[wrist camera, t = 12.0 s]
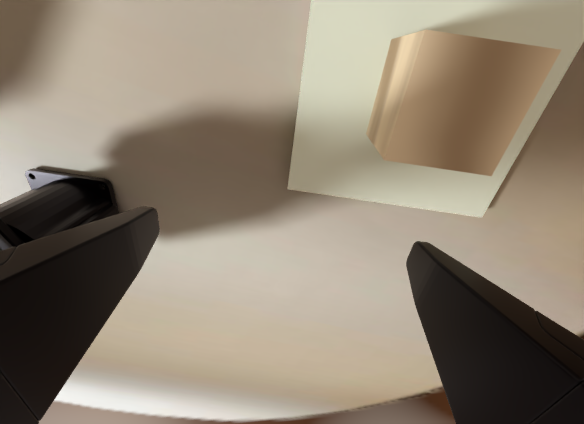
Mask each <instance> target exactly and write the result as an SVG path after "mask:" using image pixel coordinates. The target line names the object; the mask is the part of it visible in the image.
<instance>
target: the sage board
mask: <svg viewBox="0 0 584 424" xmlns="http://www.w3.org/2000/svg"><path fill="white" fill-rule="evenodd" d="M423 30H432V31H439V32H446V33H452V34H459V35H466V36H472V37H479V38H486V39H493V40H499V41H506V42H513V43H520V44H526V45H533V46H540V47H547V48H553V49H560V50H561V52H560V53H559V55H558V57H557V59H556V61H555V63H554V64H553V66H552V68H551V70H550V72H549V73H548V75H547V77H546V79H545V81H544V82H543V84H542V86H541V88H540V90H539V91H538V93H537V95H536V97H535V99H534V100H533V102H532V104H531V106H530V108H529V109H528V111H527V113H526V115H525V117H524V119H523V120H522V122H521V124H520V126H519V128H518V129H517V131H516V133H515V135H514V137H513V138H512V140H511V142H510V144H509V146H508V147H507V149H506V151H505V153H504V155H503V156H502V158H501V160H500V162H499V164H498V165H497V167H496V169H495V171H494V173H493V174H492V176H486V175H479V174H473V173H466V172H459V171H453V170H446V169H439V168H433V167H426V166H419V165H412V164H406V163H399V162H392V161H386V160H384V159H383V158H382V157H381V155H380V154H379V152H378V151H377V149H376V148H375V146H374V145H373V144H372V142H371V141H370V139H369V138H368V136H367V135H366V132H367V128H368V125H369V121H370V117H371V113H372V110H373V106H374V102H375V98H376V95H377V91H378V87H379V84H380V80H381V76H382V72H383V69H384V65H385V61H386V57H387V54H388V50H389V46H390V42H391V39H394V38H398V37H401V36H405V35H408V34H412V33H415V32H419V31H423ZM583 42H584V0H311V7H310V15H309V22H308V30H307V38H306V46H305V54H304V62H303V70H302V78H301V86H300V94H299V101H298V109H297V117H296V125H295V133H294V141H293V149H292V157H291V165H290V173H289V180H288V188H287V189H289V190H295V191H302V192H309V193H316V194H323V195H330V196H337V197H344V198H350V199H357V200H364V201H371V202H378V203H385V204H392V205H399V206H405V207H412V208H419V209H426V210H433V211H440V212H447V213H454V214H460V215H467V216H474V217H481V218H482V217H483V215H484V213H485V211H486V210H487V208H488V206H489V204H490V203H491V201H492V199H493V198H494V196H495V194H496V192H497V191H498V189H499V187H500V185H501V184H502V182H503V180H504V178H505V177H506V175H507V173H508V172H509V170H510V168H511V166H512V165H513V163H514V161H515V159H516V158H517V156H518V154H519V153H520V151H521V149H522V147H523V146H524V144H525V142H526V140H527V139H528V137H529V135H530V134H531V132H532V130H533V128H534V127H535V125H536V123H537V121H538V120H539V118H540V116H541V115H542V113H543V111H544V109H545V108H546V106H547V104H548V102H549V101H550V99H551V97H552V95H553V94H554V92H555V90H556V89H557V87H558V85H559V83H560V82H561V80H562V78H563V76H564V75H565V73H566V71H567V70H568V68H569V66H570V64H571V63H572V61H573V59H574V57H575V56H576V54H577V52H578V51H579V49H580V47H581V45H582V44H583Z"/></svg>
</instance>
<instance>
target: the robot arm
mask: <svg viewBox="0 0 584 424" xmlns="http://www.w3.org/2000/svg"><path fill="white" fill-rule="evenodd" d="M25 175H26V178H27V180H28V182H29V185H30V187H31V189H32V190H31V191H29V192H26V193H24V194H22V195H20V196H18V197H15V198H13V199H11V200H9V201H7V202H4V203H2V204H0V424H38V423H39V421H40V420H41V419H42V417H43V416H44V414H45V413H46V411H47V410H48V408H49V407H50V405H51V404H52V402H53V401H54V399H55V398H56V396H57V395H58V393H59V392H60V390H61V389H62V387H63V386H64V384H65V383H66V381H67V380H68V378H69V377H70V375H71V374H72V372H73V371H74V369H75V368H76V366H77V365H78V363H79V362H80V360H81V359H82V357H83V356H84V354H85V353H86V351H87V350H88V348H89V347H90V345H91V344H92V342H93V341H94V339H95V338H96V336H97V335H98V333H99V332H100V330H101V329H102V327H103V326H104V324H105V323H106V321H107V320H108V318H109V317H110V315H111V314H112V312H113V311H114V309H115V308H116V306H117V305H118V303H119V302H120V300H121V299H122V297H123V296H124V294H125V293H126V291H127V290H128V288H129V287H130V285H131V284H132V282H133V281H134V279H135V278H136V276H137V274H138V273H139V271H140V270H141V268H142V266H143V264H144V262H145V260H146V258H147V256H148V254H149V252H150V250H151V249H152V247H153V245H154V243H155V241H156V239H157V237H158V235H159V230H160V228H159V221H158V215H157V211H156V209H155V208H152V207H139V208H136V209H133V210H129V211H126V212H123V213H120V214H119V212H118V208H117V204H116V200H115V196H114V192H113V188H112V184H111V183H110V182H109V181H108V180H106V179H102V178H95V177H88V176H81V175H75V174H68V173H61V172H54V171H47V170H40V169H30V170H28V171H26V172H25ZM103 185H104V186H105V187H104V186H103ZM406 266H407V271H408V275H409V280H410V284H411V289H412V293H413V298H414V302H415V305H416V308H417V312H418V315H419V317H420V320H421V323H422V326H423V329H424V332H425V335H426V338H427V341H428V344H429V346H430V349H431V352H432V355H433V358H434V361H435V364H436V367H437V370H438V373H439V375H440V378H441V381H442V384H443V387H444V390H445V393H446V396H447V399H448V402H449V404H450V407H451V410H452V413H453V416H454V419H455V422H456V424H584V339H582V338H580V337H578V336H577V335H575V334H573V333H572V332H570V331H569V330H567V329H565V328H564V327H562V326H560V325H559V324H557V323H556V322H554V321H552V320H551V319H549V318H548V317H546V316H544V315H543V314H541V313H540V312H538V311H535V310H534V309H533V308H532V307H530V306H528V305H527V304H525V303H524V302H522V301H520V300H519V299H517V298H516V297H514V296H512V295H511V294H509V293H508V292H506V291H505V290H503V289H501V288H500V287H498V286H497V285H495V284H493V283H492V282H490V281H489V280H487V279H485V278H484V277H482V276H481V275H479V274H478V273H476V272H474V271H473V270H471V269H470V268H468V267H466V266H465V265H463V264H462V263H460V262H458V261H457V260H455V259H454V258H452V257H451V256H449V255H447V254H446V253H444V252H443V251H441V250H439V249H438V248H436V247H435V246H433V245H432V244H430V243H427V242H420V241H417V242H415V243H414V245H413V247H412V249H411V251H410V254H409V256H408V258H407V262H406Z"/></svg>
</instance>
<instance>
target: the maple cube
mask: <svg viewBox="0 0 584 424" xmlns="http://www.w3.org/2000/svg"><path fill="white" fill-rule="evenodd" d="M560 52H561V50H560V49H553V48H547V47H540V46H533V45H526V44H520V43H513V42H506V41H499V40H493V39H486V38H479V37H472V36H466V35H459V34H452V33H446V32H439V31H432V30H423V31H419V32H415V33H412V34H408V35H405V36H401V37H398V38H394V39H391V42H390V46H389V50H388V54H387V57H386V61H385V65H384V69H383V72H382V76H381V80H380V84H379V87H378V91H377V95H376V98H375V102H374V106H373V110H372V113H371V117H370V121H369V125H368V128H367V132H366V135H367V136H368V138H369V139H370V141H371V142H372V144H373V145H374V146H375V148H376V149H377V151H378V152H379V154H380V155H381V157H382V158H383V159H384V160H386V161H392V162H399V163H406V164H412V165H419V166H426V167H433V168H439V169H446V170H453V171H459V172H466V173H473V174H479V175H486V176H492V174H493V173H494V171H495V169H496V167H497V165H498V164H499V162H500V160H501V158H502V156H503V155H504V153H505V151H506V149H507V147H508V146H509V144H510V142H511V140H512V138H513V137H514V135H515V133H516V131H517V129H518V128H519V126H520V124H521V122H522V120H523V119H524V117H525V115H526V113H527V111H528V109H529V108H530V106H531V104H532V102H533V100H534V99H535V97H536V95H537V93H538V91H539V90H540V88H541V86H542V84H543V82H544V81H545V79H546V77H547V75H548V73H549V72H550V70H551V68H552V66H553V64H554V63H555V61H556V59H557V57H558V55H559V53H560Z"/></svg>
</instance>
